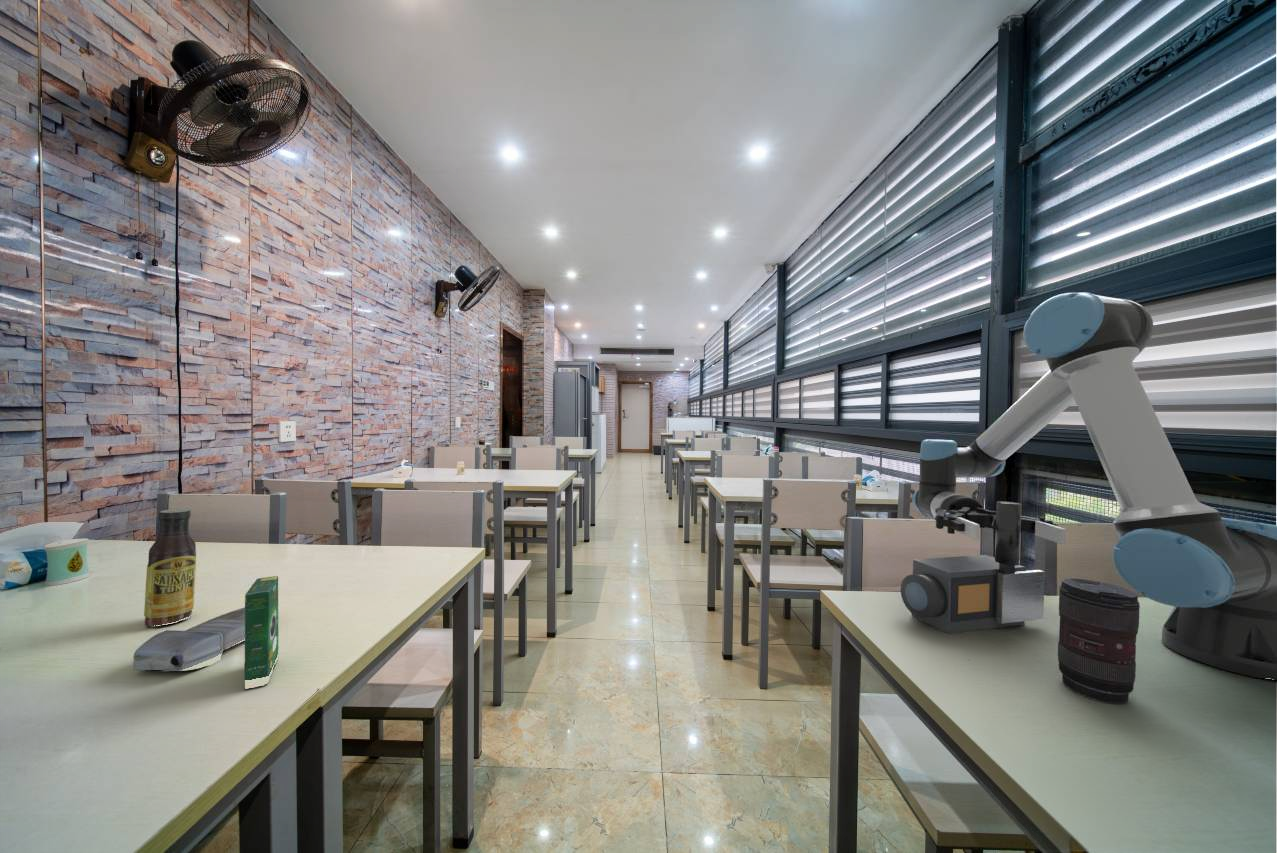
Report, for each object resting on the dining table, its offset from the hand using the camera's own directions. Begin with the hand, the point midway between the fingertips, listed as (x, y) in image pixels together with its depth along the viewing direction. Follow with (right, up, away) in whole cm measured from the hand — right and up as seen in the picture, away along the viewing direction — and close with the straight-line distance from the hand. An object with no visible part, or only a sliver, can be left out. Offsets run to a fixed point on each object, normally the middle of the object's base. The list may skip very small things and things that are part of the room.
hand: (1019, 534), depth 81 cm
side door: (+4, -17, +4) cm, 18 cm away
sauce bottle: (-152, -16, +1) cm, 152 cm away
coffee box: (-122, -17, -15) cm, 124 cm away
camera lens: (-2, -19, -16) cm, 25 cm away
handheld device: (-135, -17, -7) cm, 137 cm away
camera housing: (-5, -18, +7) cm, 20 cm away
